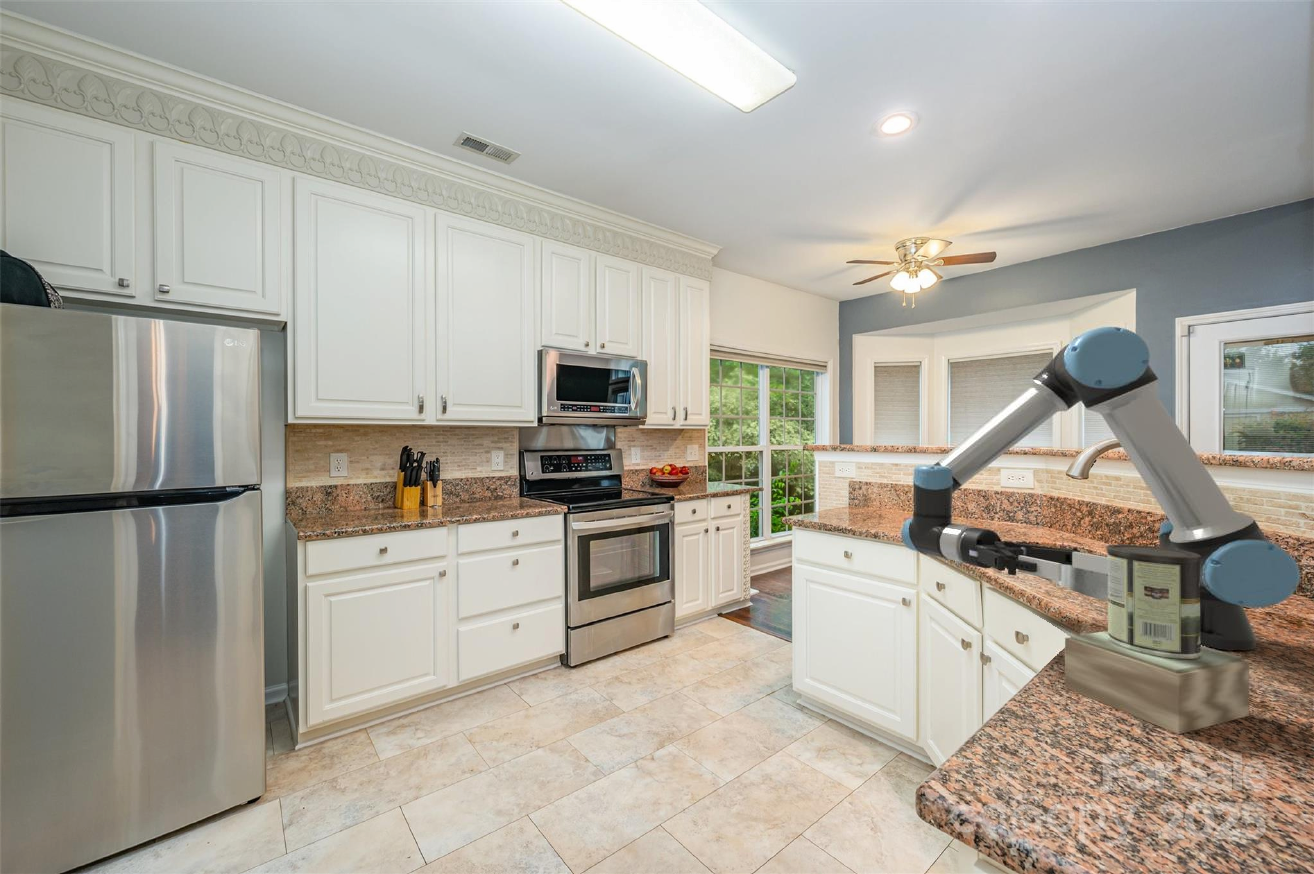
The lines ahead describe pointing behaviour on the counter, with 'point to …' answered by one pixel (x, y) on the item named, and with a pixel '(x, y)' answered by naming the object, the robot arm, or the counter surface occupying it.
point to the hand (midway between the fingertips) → (1088, 569)
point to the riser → (1159, 683)
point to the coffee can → (1154, 600)
